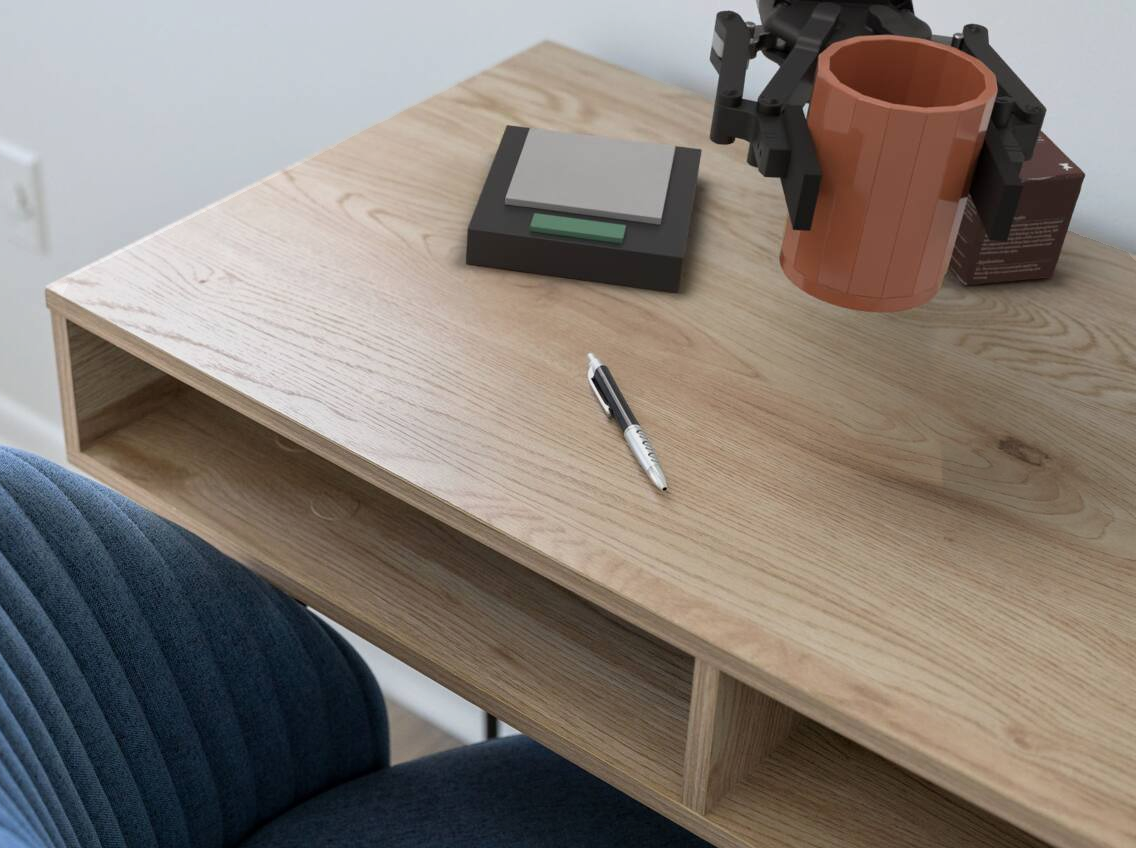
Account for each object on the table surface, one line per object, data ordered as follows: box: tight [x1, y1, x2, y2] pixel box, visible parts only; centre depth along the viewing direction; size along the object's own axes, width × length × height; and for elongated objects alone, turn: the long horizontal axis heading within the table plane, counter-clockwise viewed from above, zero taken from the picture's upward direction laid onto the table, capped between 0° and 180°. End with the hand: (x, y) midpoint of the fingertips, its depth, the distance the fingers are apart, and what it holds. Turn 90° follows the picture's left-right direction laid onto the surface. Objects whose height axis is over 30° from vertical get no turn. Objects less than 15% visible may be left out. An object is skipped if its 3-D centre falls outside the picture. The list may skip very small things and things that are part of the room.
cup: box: [778, 35, 998, 313], centre depth 74 cm, size 8×8×10 cm
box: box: [948, 130, 1086, 286], centre depth 99 cm, size 6×6×7 cm
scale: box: [465, 124, 703, 294], centre depth 102 cm, size 13×14×3 cm
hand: (906, 207), depth 69 cm, fingers closed on cup, 8 cm apart
